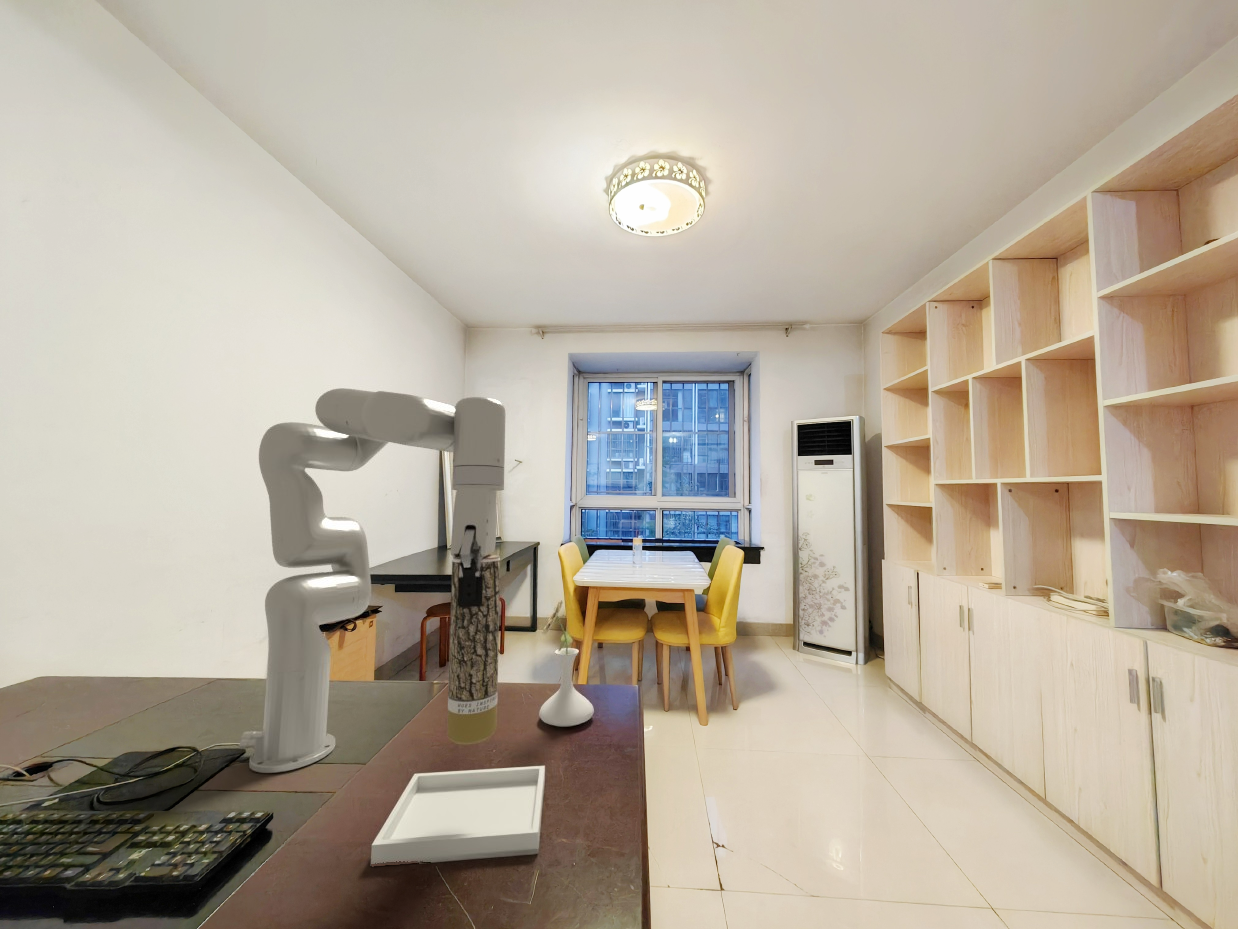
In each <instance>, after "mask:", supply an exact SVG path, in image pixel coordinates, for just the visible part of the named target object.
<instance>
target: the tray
mask: <svg viewBox="0 0 1238 929" xmlns="http://www.w3.org/2000/svg"><path fill="white" fill-rule="evenodd" d="M545 778H546V765H534V766H531V765H530V766H519V767H504V768H503V767H501V768H500V767H499V768H485V769H484V768H483V769H469V770H451V771H439V772H421V773H419V772H418V773H414V774H413V776H412V777H411V779H410V780H409V782H408V784H407V785H406V788H405V789H404V791H403V792H402V794H401V796H400V797H399V799H398V801H397V802H396V804H395V806H394V808H393V809H392V810H391V812H390V814H389V816H388V817H387V818H386V821H385V822H384V824H383V825H382V827H381V829H380V831H379V832H378V834H377V835H376V837H375V839H374V841H373V842H372V844H371V851H370V853H371V854H370V865H371V864H375V863H376V864H377V863H383V862H384V863H386V862H396V861H397V862H399V861H401V862H403V861H405V862H407V861H408V862H411V861H418V862H420V861H423V862H431V863H440V862H441V863H442V862H443V863H444V862H454V861H455V862H456V861H467V860H478V859H479V860H481V859H490V858H491V859H492V858H503V857H514V856H517V857H518V856H527V855H538V854H539V849H540V848H539V847H540V839H541V837H540V836H541V827H542V815H543V804H544V794H545V786H546V785H545V783H546V782H545V780H546V779H545Z"/></svg>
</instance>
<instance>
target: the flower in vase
mask: <svg viewBox="0 0 1238 929" xmlns="http://www.w3.org/2000/svg"><path fill="white" fill-rule="evenodd" d="M563 603H564V601H563V599H559V600H558V602H557V605H555V607H554V609H553V612H552V614H551V616H550V617H549V618H548V619H547V622H548V623H547V624H546V625H545V626H544V628H543V629H542V636H543V635H544V636H545V635H546V634H547V633H548V632H549V631H550V630H551V628H552V626H553V625H554V623H556V622H558V624H559V626H560V628H561V630H562V633H563V634H562V635H561V636H560V642H561V644H560V646H559V648H558V649H556V650H555V651H554V654H555V655H556V656H557V658H558V660H559V664H560V665H559V666H560V670H561V675H560V676H561V679H560V680H561V683H560V687H559V689H558V690H557V691H556V692H555V693H554V694H553V695H552V696H550V697H549V698H548V699H547V700H546V701H545V702H544V703H543V704H542V705H541V707H540V708H539V712H538V716H539V717H540V719H541V721H542V722H544V723H545V724H548V725H550V726H556V727H573V726H577V725H581V724H582V723H585V722H587V721H588V720H590V719H591V718H592V716H593V715H594V712H595V710H594V706H593V703H591V702H590V700H589V699H588V698H586V697H585V696H584V695H582V694H581V693H580V692H579V691H578V690H576V688H575V687H574V684H573V668H574V667H573V666H574V663H575V659H576V656H578V655H579V652H580V651H579V649H577V648H572V647H570V645H571V644H572V643H573V642H574V641H573V639H572V636H571V635H570V634H569V632H568V630H565V629H564V626H563V624H562V622H561V620H560V618H559V613H560V611H561V609H562V606H563ZM564 646H565V648H564Z"/></svg>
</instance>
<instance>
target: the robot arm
mask: <svg viewBox="0 0 1238 929" xmlns="http://www.w3.org/2000/svg"><path fill="white" fill-rule="evenodd" d="M314 411H315V414H316V415H315V416H316V417H317V420H318V421H319V423H320V424H321V425H320V424H319V425H317V424H314V423H306V422H305V423H304V422H295V421H294V422H292V421H290V422H281V423H276V424H274V425H272V426H271V427H269V428H268V429H267V430H266V431H265V433H264V434H263V436H262V438H261V439H260V440H261V441H260V445H259V448H258V449H259V450H258V465H259V468H260V474H261V476H262V480H263V482H264V485H265V489H266V491H267V494H268V499H269V501H268V502H269V516H270V534H271V546H272V554H273V558H274V560H275V562H276V564H278V565H279V566H280V567H283V568H290V569H298V568H309V567H310V568H312V567H321V566H323V567H324V566H331V569H332V571H326V572H324V571H323V572H322V571H321V572H312V573H305V574H297V575H291V576H288V577H285V578H282V579H280V580H278V581H277V582H275V583H274V584H273V585H272V586H270V588H269V590H268V591H267V593H266V596H265V599H264V611H265V617H266V625H267V636H268V637H267V638H268V644H267V648H268V651H267V654H268V655H267V665H266V666H267V668H266V681H265V682H266V685H265V696H264V698H265V699H264V711H263V713H264V715H263V723H262V724H263V726H262V730H261V731H257V730H254V731H249V730H248V731H244V732H243V733H242V735H241V737H240V742H239V745H238V747H239V749H241V750H242V749H249V748H250V749H251V748H253V750H254V752H253V753H252V754H251V756H250V757H249V763H248V765H249V769H251V771H253V772H256V773H261V774H273V773H282V772H283V773H284V772H288V771H293V770H297V769H300V768H302V767H306V766H309V765H311V764H313V763H316V762H318V761H321V760H322V759H323V758H325V757H327V755H328V756H329V754H330V753H331V752H332V751H334V749H335V747H336V737H335V736H334V735H332V734H330V733H328V732H327V725H328V724H327V722H328V707H329V705H328V704H329V691H330V690H329V689H330V676H331V675H330V674H331V672H330V671H331V655H332V654H331V652H332V651H331V645H330V642H329V640H328V639H327V637H326V636H325V635H324V633H323V632H322V631H321V629H320V625H321V626H322V625H324V624H327V623H333V622H337V621H342V620H346V619H351V618H355V617H358V616H359V615H362V614H363V613H364V612H365V611H366V610H367V609H368V606H369V605H370V602H371V598H372V580H371V570H370V560H369V559H370V558H369V549H368V540H367V536H366V532H365V530H364V528H363V526H362V525H361V524H360V523H359V522H358V521H357V520H356V519H353V518H351V517H346V516H345V517H343V516H327V515H326V514H325V510H324V498H323V493H322V491H321V489H320V487H319V485H318V484H317V483H316V481H315V480H314V479H313V477H311V476H310V475H309V474H308V473H307V472H306V469H312V470H313V469H314V470H322V471H324V470H325V471H336V472H337V471H338V472H353V471H357V470H359V469H360V468H362V467H364V466H365V465H366V464H367V463H369V461H371V460H372V459H373V458H374V457H375V456H376V454H378V453H380V451H382V449H384V448H385V446H387V445H388V444H389V443H393V444H397V445H402V446H409V447H417V448H423V449H430V450H433V451H434V450H436V451H441V452H445V453H452V474H451V475H452V480H451V482H452V483H451V490H453V491H455V497H454V505H453V514H452V515H453V517H452V526H451V540H450V542H451V543H450V555H451V557H452V558H453V557H454V558H457V557H460V556H461V561H460V569H459V584H458V606H459V607H479V606H481V605H482V595H483V577H480V576H481V567H482V559H483V557H485V556H487V555H492V554H493V553H494V552H495V550H496V543H497V542H496V540H497V513H498V512H497V509H498V508H497V504H498V503H497V501H498V500H497V496H498V495H497V492H498V491H504V490H505V456H506V454H505V450H506V447H505V445H506V408H505V406H504V405H503V403H502V402H501V401H499V400H497V399H494V398H489V397H483V396H480V397H479V396H470V397H465V398H461V399H460V400H459V401H457V402H456V404H455V405H452V404H447V403H444V402H440V401H438V400H434V399H430V398H426V397H422V396H418V395H414V394H413V395H412V394H407V393H400V392H392V391H384V390H383V391H382V390H377V391H369V390H362V389H355V388H354V389H353V388H340V387H339V388H334V389H331V390H327V391H326V392H324V393H323V394H322V395H321V396H320V397H318V399H317V401H316V403H315V410H314ZM454 558H453V559H454ZM475 560H477V564H475V563H476V561H475Z"/></svg>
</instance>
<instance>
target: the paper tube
mask: <svg viewBox="0 0 1238 929" xmlns="http://www.w3.org/2000/svg"><path fill="white" fill-rule="evenodd" d="M500 557H501V555H497V554H496V555H495V554H494V555H493V554H491V555H487V556H485V557H483V559H482V567H481V576H480V577H483V595H482V605H481V606H479V607H459V606H458V584H459V569H460V561H461V556H460V557H457V558H454V557H453V556H452V562H451V588H450V590H451V591H450V592H451V593H450V619H449V620H450V625H449V626H450V627H449V651H448V652H449V653H448V655H449V657H448V661H449V662H448V684H447V685H448V686H447V687H448V688H447V689H448V690H447V691H448V692H447V727H446V736H447V738H448V740H450V741H451V742H453V743H454V744H459V745H471V744H472V745H473V744H478V743H481V742H484V741H486V740H488V739H490V738H491V737H493V735H494V734H495V732H496V730H497V727H498V726H497V725H498V718H497V717H498V694H499V693H498V692H499V691H498V687H499V686H498V685H499V682H498V681H499V679H498V678H499V643H500V642H499V640H500V638H499V634H500V633H499V632H500V588H501V587H500V586H501V585H500V584H501V583H500V582H501V581H500V580H501V579H500V578H501V558H500ZM475 561H476V563H475V564H477V560H475Z"/></svg>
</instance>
